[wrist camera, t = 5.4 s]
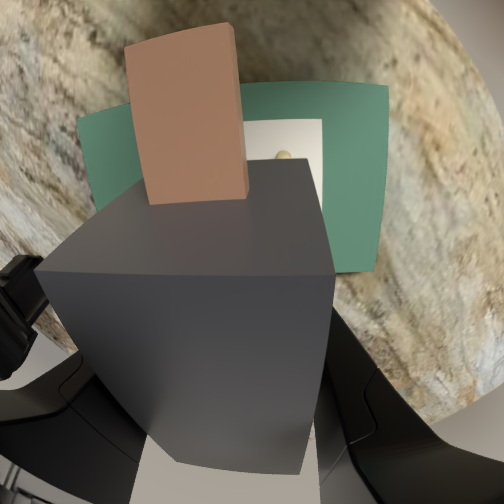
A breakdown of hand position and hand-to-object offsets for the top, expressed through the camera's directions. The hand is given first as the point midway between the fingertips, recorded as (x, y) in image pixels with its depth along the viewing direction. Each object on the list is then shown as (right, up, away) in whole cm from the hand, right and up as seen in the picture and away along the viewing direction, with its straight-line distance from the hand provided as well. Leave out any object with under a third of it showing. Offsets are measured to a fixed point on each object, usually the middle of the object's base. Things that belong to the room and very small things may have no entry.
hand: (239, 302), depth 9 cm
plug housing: (0, +2, 0) cm, 2 cm away
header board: (-1, +7, +12) cm, 13 cm away
